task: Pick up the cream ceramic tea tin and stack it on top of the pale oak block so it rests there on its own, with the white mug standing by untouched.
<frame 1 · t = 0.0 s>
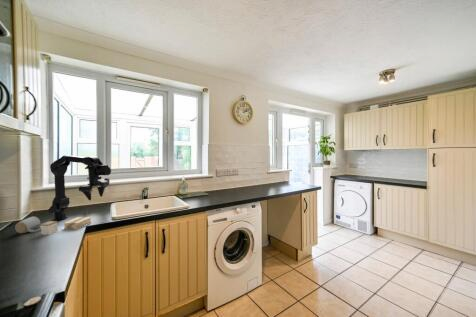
hand: (95, 198, 131), 15 cm above the counter, fingers open, 9 cm apart
oak block: (78, 226, 122), on the counter
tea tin: (50, 232, 113), on the counter
ceramic mug: (31, 231, 117), on the counter
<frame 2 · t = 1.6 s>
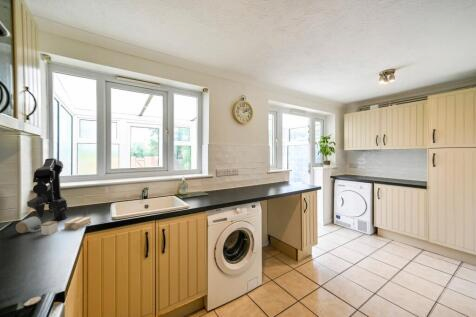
hand: (48, 217, 113), 9 cm above the counter, fingers open, 9 cm apart
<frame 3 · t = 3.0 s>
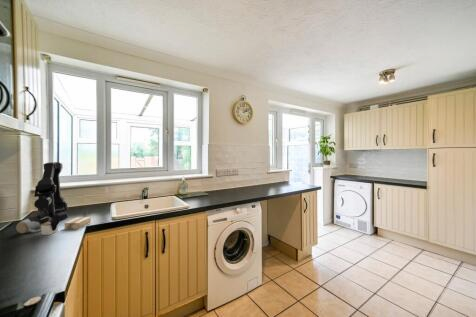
hand: (49, 230, 113), 1 cm above the counter, fingers closed on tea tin, 5 cm apart
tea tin: (49, 232, 113), on the counter, touching gripper
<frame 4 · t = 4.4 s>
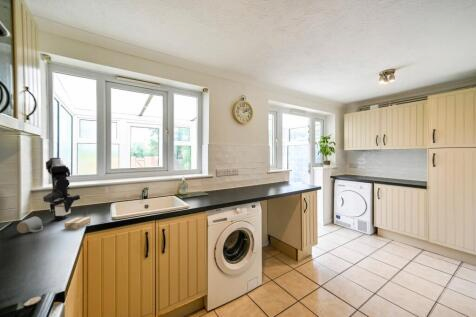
hand: (63, 212, 117), 10 cm above the counter, fingers closed on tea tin, 5 cm apart
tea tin: (63, 214, 117), point 9 cm above the counter, touching gripper
when the fingers open (6 cm above the counter, at t = 6.2 s): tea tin stays where it is, resting on oak block.
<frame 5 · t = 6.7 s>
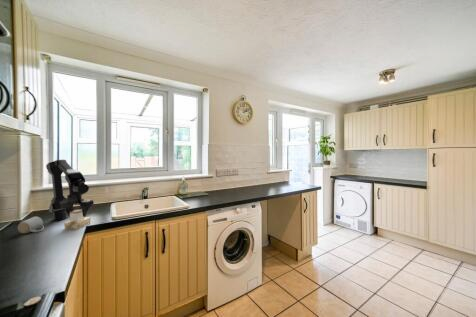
hand: (77, 216, 122), 6 cm above the counter, fingers open, 9 cm apart
oak block: (78, 226, 122), on the counter, touching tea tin
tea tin: (77, 220, 122), point 4 cm above the counter, touching oak block
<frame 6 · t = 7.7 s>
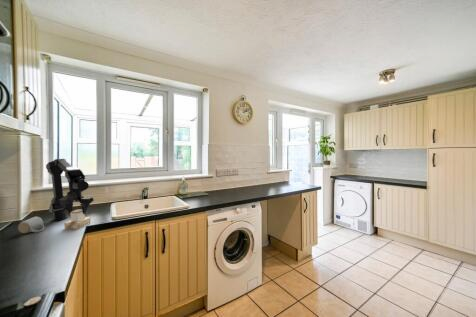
hand: (77, 213, 122), 8 cm above the counter, fingers open, 9 cm apart
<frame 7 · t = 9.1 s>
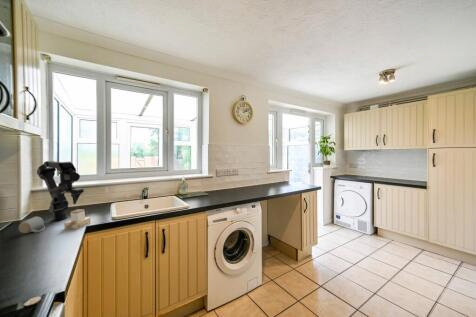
hand: (68, 204, 129), 12 cm above the counter, fingers open, 9 cm apart
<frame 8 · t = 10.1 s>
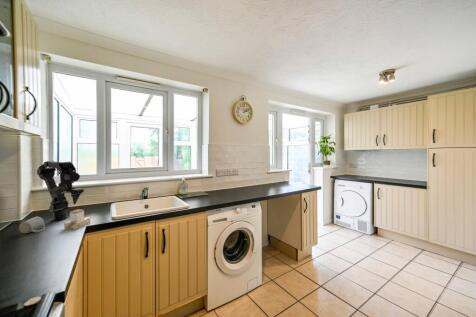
hand: (68, 204, 129), 12 cm above the counter, fingers open, 9 cm apart
at the end: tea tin 0.1 cm off-centre on the oak block, point 4.0 cm above the oak block's base; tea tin tilted 1°; the gripper is holding nothing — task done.
